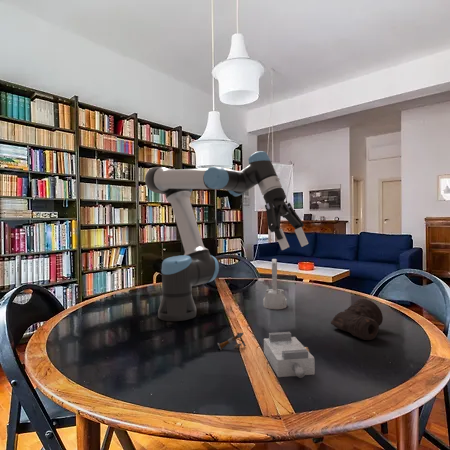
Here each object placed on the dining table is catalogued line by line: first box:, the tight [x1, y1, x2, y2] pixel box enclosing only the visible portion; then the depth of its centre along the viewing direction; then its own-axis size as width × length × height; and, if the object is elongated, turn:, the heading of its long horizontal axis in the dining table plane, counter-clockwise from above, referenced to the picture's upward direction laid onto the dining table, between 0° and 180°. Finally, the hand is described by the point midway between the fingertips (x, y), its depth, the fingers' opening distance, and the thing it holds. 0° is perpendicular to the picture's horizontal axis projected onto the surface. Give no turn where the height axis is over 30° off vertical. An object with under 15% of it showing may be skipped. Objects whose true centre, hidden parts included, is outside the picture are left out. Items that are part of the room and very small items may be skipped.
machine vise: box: [263, 331, 316, 379], centre depth 80 cm, size 10×17×6 cm, turn 6°
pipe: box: [330, 298, 384, 341], centre depth 103 cm, size 10×15×15 cm
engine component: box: [262, 258, 288, 310], centre depth 137 cm, size 11×20×10 cm
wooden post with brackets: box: [217, 331, 247, 351], centre depth 91 cm, size 2×8×4 cm, turn 98°
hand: (295, 247), depth 106 cm, fingers open, 13 cm apart
